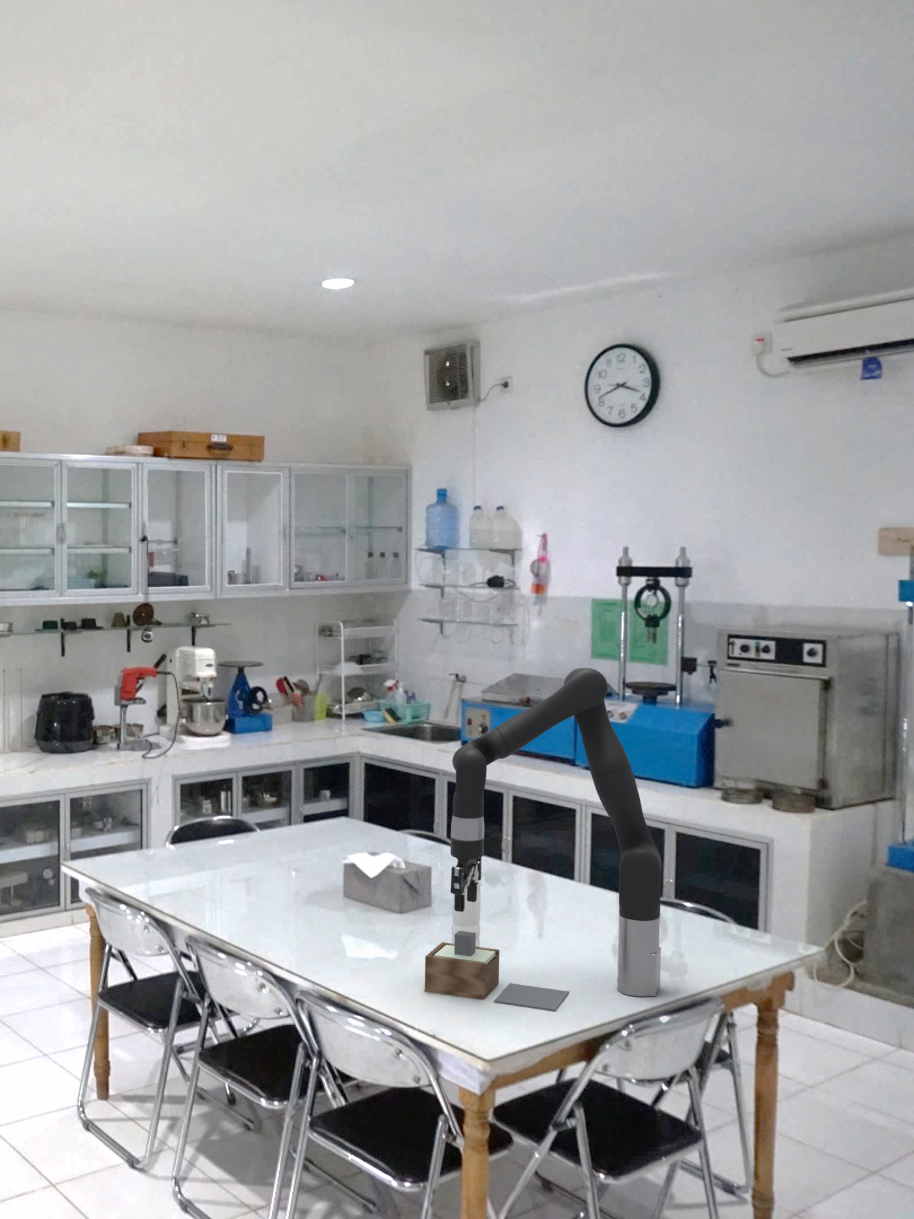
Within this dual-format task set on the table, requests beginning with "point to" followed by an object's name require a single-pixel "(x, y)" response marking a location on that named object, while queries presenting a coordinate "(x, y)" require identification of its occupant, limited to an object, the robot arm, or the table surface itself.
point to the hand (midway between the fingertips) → (465, 906)
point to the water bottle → (467, 917)
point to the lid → (465, 949)
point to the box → (461, 975)
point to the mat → (532, 997)
